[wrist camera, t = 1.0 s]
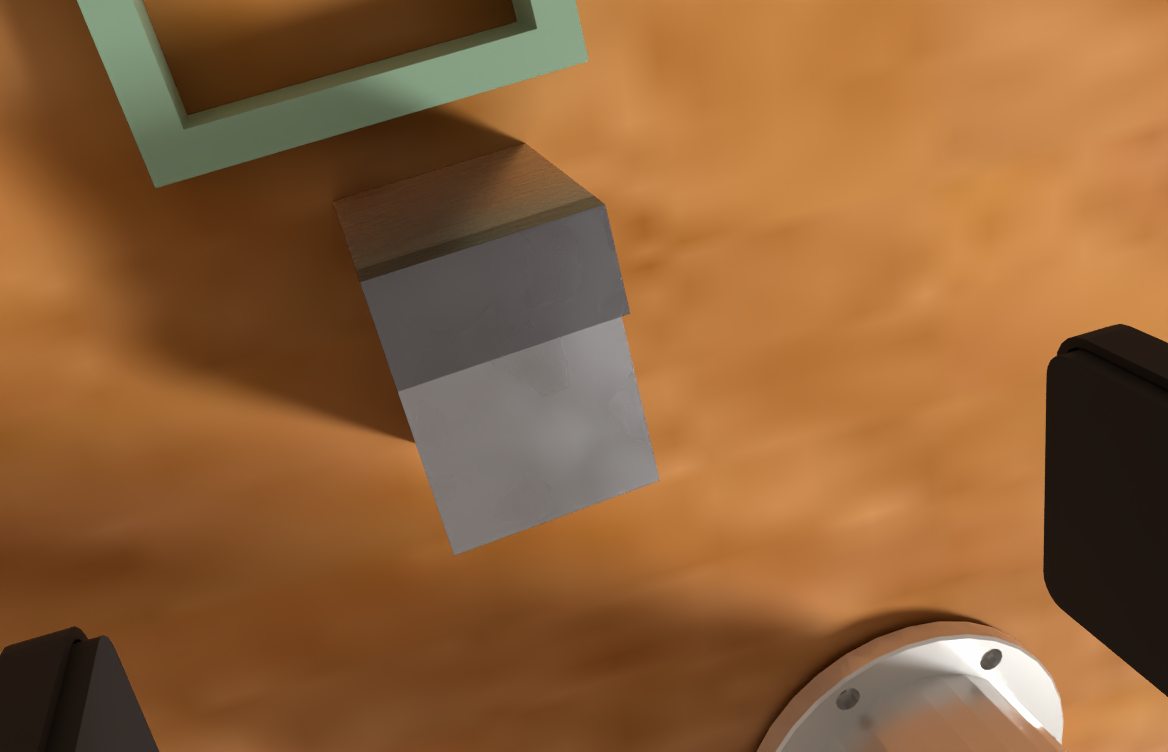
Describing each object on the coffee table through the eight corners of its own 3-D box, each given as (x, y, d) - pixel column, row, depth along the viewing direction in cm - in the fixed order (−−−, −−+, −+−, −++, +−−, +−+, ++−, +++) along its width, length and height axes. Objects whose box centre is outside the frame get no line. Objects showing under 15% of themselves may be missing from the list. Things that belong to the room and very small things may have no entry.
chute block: (586, 383, 30) (672, 496, 24) (415, 442, 30) (460, 574, 24) (524, 142, 27) (605, 204, 21) (332, 201, 27) (360, 282, 21)
